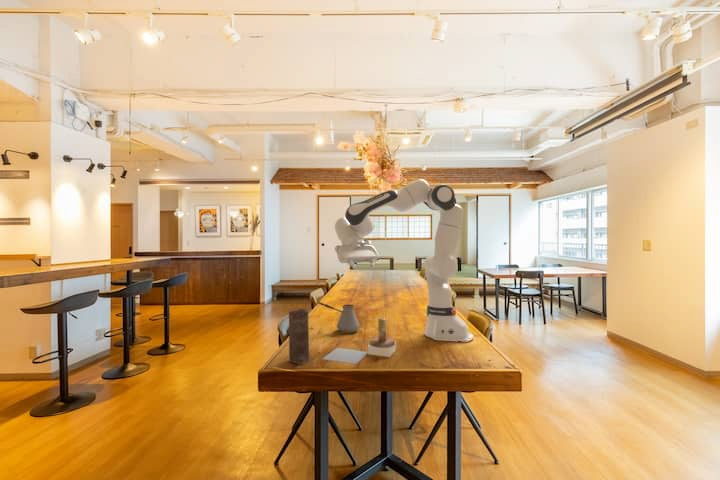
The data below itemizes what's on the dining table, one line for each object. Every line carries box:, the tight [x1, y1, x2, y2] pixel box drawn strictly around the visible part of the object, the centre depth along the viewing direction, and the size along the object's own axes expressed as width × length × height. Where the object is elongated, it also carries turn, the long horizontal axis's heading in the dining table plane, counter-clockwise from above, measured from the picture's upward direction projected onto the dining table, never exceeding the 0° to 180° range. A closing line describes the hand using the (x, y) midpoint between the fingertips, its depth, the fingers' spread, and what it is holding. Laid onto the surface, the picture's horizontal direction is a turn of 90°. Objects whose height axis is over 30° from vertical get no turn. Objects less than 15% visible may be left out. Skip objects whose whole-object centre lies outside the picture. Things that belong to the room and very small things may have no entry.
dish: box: [367, 341, 397, 358], centre depth 139 cm, size 9×9×4 cm
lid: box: [369, 317, 396, 348], centre depth 139 cm, size 10×10×10 cm
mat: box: [322, 347, 368, 365], centre depth 135 cm, size 14×14×1 cm
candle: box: [288, 308, 310, 365], centre depth 129 cm, size 8×7×20 cm
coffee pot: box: [316, 301, 360, 334], centre depth 171 cm, size 21×12×15 cm, turn 97°
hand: (364, 268), depth 153 cm, fingers open, 8 cm apart
